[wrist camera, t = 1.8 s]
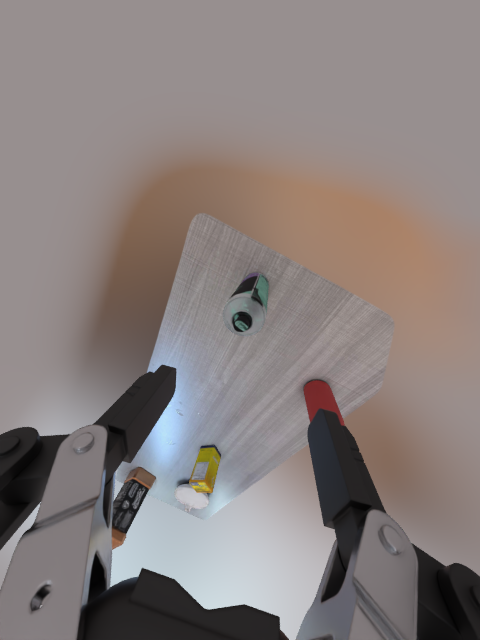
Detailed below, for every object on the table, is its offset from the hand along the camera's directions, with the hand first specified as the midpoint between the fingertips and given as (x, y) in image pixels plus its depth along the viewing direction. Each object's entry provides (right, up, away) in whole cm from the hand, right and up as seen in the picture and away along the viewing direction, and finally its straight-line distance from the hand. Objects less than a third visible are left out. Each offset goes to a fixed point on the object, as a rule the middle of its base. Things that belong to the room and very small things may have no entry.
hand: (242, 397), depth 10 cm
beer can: (+20, -13, +36) cm, 43 cm away
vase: (-21, -71, +69) cm, 101 cm away
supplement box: (-11, -44, +55) cm, 71 cm away
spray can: (+3, +12, +28) cm, 30 cm away
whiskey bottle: (-45, -68, +72) cm, 109 cm away
